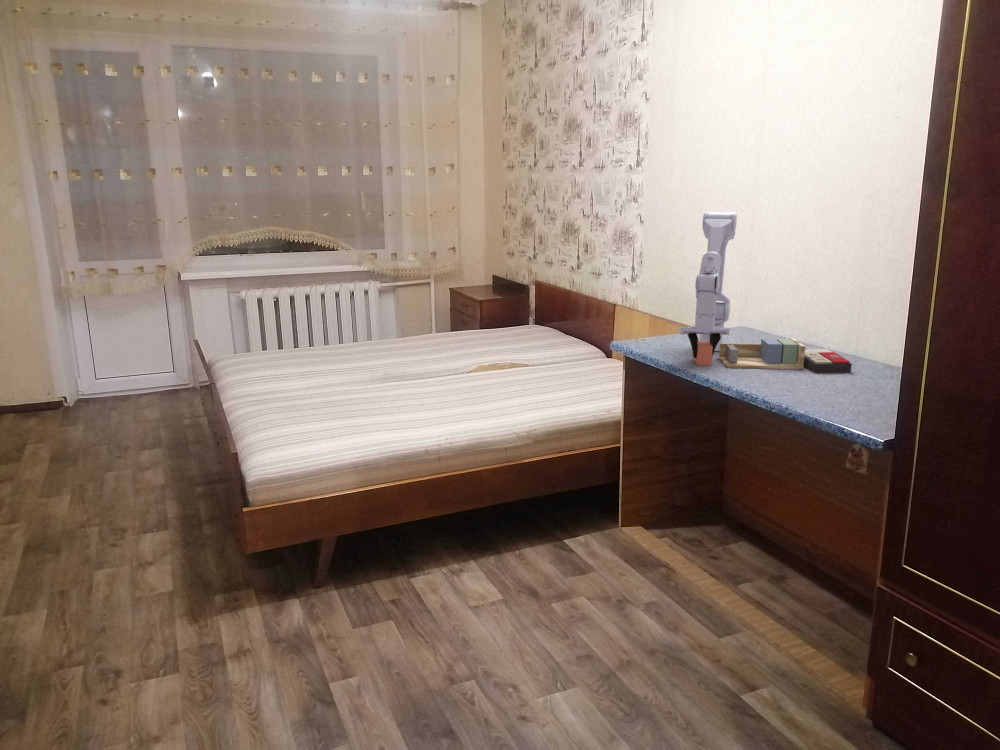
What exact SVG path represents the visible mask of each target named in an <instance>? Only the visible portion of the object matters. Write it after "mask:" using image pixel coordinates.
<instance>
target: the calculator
mask: <svg viewBox="0 0 1000 750" xmlns="http://www.w3.org/2000/svg"><path fill="white" fill-rule="evenodd" d="M852 364H853V363H851V362H850V360H848V359H846V358H845V357H844V356H842V355H840V354H838V353H836V352H835V351H832V350H830V348H829V349H828V348H825V349H824V348H823V349H822V348H816V349H815V348H813V349H812V348H809V349H808V348H807V349H806V348H805V356H804V366H803V368H805V369H807V370H809V371H810V372H812V373H814V374H819V373H820V374H823V373H824V374H826V373H827V374H828V373H829V374H832V373H833V374H836V373H851V372H852Z"/></svg>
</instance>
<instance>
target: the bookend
mask: <svg viewBox="0 0 1000 750" xmlns="http://www.w3.org/2000/svg"><path fill="white" fill-rule="evenodd" d="M737 357H738V349H737V348H736V347H735V346H734V345H726V354H725V358H726V359H727V360H728V361H729V362H730V363H737Z"/></svg>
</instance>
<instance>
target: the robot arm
mask: <svg viewBox="0 0 1000 750" xmlns="http://www.w3.org/2000/svg"><path fill="white" fill-rule="evenodd" d="M737 215H738V214H737V213H736V212H735V211H733V212H729V211H728V212H727V211H726V212H725V211H724V212H723V211H722V212H721V211H718V212H717V211H716V212H715V211H713V212H712V211H710V212H709V211H705V212H704V214H703V216H702V223H701V224H702V230H703V235H704V238H705V239H707V251H706V253H704V254H703V256H702V259H701V262H700V267H699V273H698V274H697V275H696V278H695V299H696V303H695V304H696V306H695V319H694V320H695V322H694V325H693V326H680V327H679V332H678V333H679V335H687V337H688V340H689V342H690V345H691V351H692V358H693V357H694V358H697V343H698V340H708V341H709V343H710V344H711V345H712V346H713V350H712V357H713V355H714V353H715V352H719V349H720V343H724V341H723V340H724V335H725V336H730V328H729V327H725V323H727V322H728V321H729V318H730V312H731V304H730V303H731V300H730V297H729V296H728V295H726V294H725V293H723V285H724V283H723V282H724V274H725V266H726V265H725V261H726V253H727V246H728V243H729V242H730V241H731V240H733V239H735V235H736V230H737V229H736V228H737V221H738V220H737ZM698 335H699V336H698Z"/></svg>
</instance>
